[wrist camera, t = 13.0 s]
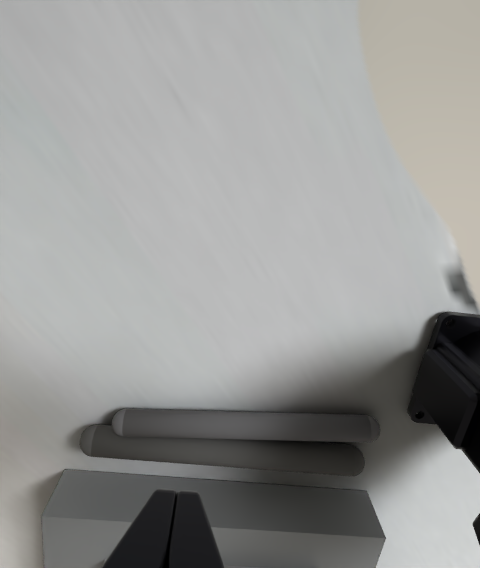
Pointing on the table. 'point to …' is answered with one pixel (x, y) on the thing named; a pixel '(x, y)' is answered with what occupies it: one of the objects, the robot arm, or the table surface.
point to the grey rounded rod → (226, 452)
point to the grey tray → (216, 521)
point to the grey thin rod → (245, 425)
